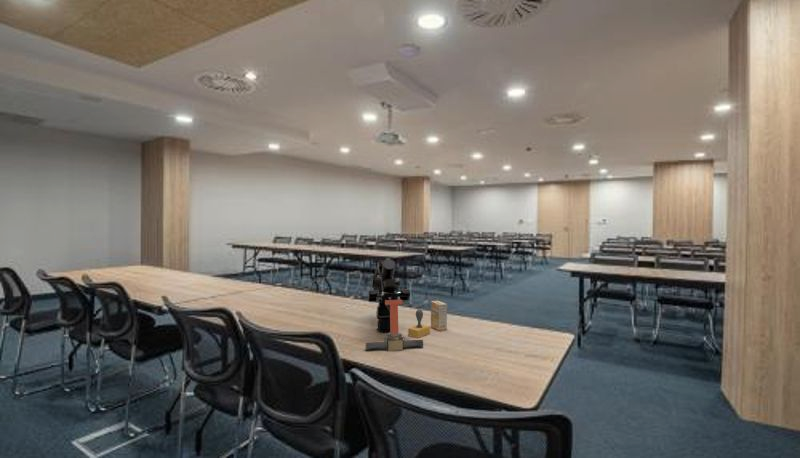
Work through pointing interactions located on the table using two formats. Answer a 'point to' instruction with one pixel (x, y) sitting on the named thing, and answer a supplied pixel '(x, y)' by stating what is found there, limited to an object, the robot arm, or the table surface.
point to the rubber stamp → (419, 327)
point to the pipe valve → (394, 344)
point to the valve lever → (393, 317)
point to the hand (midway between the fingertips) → (391, 311)
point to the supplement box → (439, 315)
